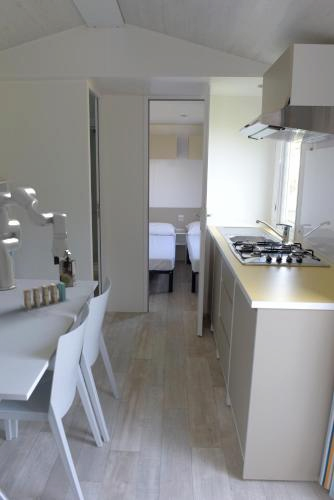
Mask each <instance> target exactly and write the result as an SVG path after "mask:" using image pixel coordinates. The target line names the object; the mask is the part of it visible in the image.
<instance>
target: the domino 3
mask: <svg viewBox="0 0 334 500" xmlns="http://www.w3.org/2000/svg"><path fill="white" fill-rule="evenodd" d="M49 292H50V289H49V286H47V285H45V284H43V285H41V302H42V303H43V304H45V305H49V300H50V293H49Z"/></svg>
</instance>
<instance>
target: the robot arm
mask: <svg viewBox="0 0 334 500" xmlns="http://www.w3.org/2000/svg"><path fill="white" fill-rule="evenodd" d="M36 195H37V193H36V191H35V189H33V188H32V187H30V186H24V187H23V186H22V187H19V186H18V187H14V188H12V190H11V191H2V192H1V191H0V236H3V237H0V291H7V290H8V291H9V290H13V289H15V288H17V287H18V284H17V282H15V274H14V273H15V272H14V262H13V258H12V257H13V256H11V255H10V253H11V252H15V251H18V250H20V249H21V247H22V244H23V243H22V242H23V241H22V240H23V239H22V227H21V224H20V223H21V222H19V220H17V218H13V217H12V218H10V217H9V212H8V210H7V208H6V207H13V206H20V207H21V208H22V209H24V210H25V213H26V217H27V219H28V220H29V221H30V222H31V223H33V224H34V225H35V226H36V227H39V228H45V227H51V226H52V235H53V238H52V244H51V245H52V246H51V247H52V248H51V252H52V256H53V265H55V266H57V265H59V264H60V263H59V262H60V258H63V260H65V261H64V268H68V267H70V264H69V260H71V257H72V252H70V246H69V240H68V237H69V236H68V217H67V214H65V213H62V212H55V211H49V212H42V213H41V212H39V211H38V210H37V208H39V201H38V199H37V198H36ZM8 235H9V236H8Z"/></svg>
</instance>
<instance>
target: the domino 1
mask: <svg viewBox="0 0 334 500" xmlns="http://www.w3.org/2000/svg"><path fill="white" fill-rule="evenodd" d="M31 294H32V293H31V290H30V289H28V288H23V302H24V303H23V304H24V305H23V306H24V307H25V308H27V309H28V310H29V309H32V308H31V304H32V296H31Z"/></svg>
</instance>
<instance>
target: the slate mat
mask: <svg viewBox="0 0 334 500" xmlns="http://www.w3.org/2000/svg"><path fill="white" fill-rule="evenodd" d="M68 302H72V301H71V300H70V299H69V298H67V297H66V301H62V300H60V299H59V297H58V303H53V302H52V301H51V299H49V305H45V304H43V303H42V301H40V306H41V307H36V306H34V304H33V303H31V308H32V309H29V310H28V309H27V308H25V307H24V305H22V306H19V308H20V309H21V310H23V311H24V312H26V313H27V312H30V311H34V310H35V311H36V310H39V309H43V308H48V307H52V306H55V305H60V304H63V303H68Z"/></svg>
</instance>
